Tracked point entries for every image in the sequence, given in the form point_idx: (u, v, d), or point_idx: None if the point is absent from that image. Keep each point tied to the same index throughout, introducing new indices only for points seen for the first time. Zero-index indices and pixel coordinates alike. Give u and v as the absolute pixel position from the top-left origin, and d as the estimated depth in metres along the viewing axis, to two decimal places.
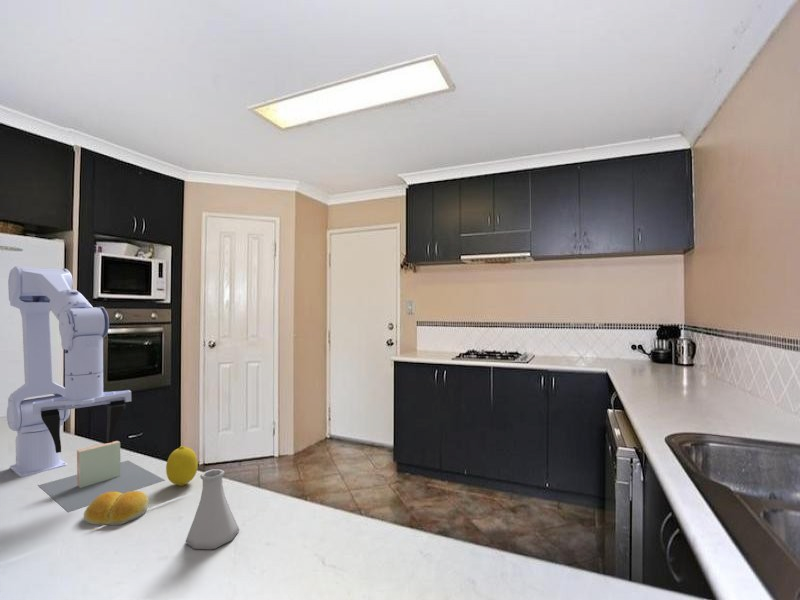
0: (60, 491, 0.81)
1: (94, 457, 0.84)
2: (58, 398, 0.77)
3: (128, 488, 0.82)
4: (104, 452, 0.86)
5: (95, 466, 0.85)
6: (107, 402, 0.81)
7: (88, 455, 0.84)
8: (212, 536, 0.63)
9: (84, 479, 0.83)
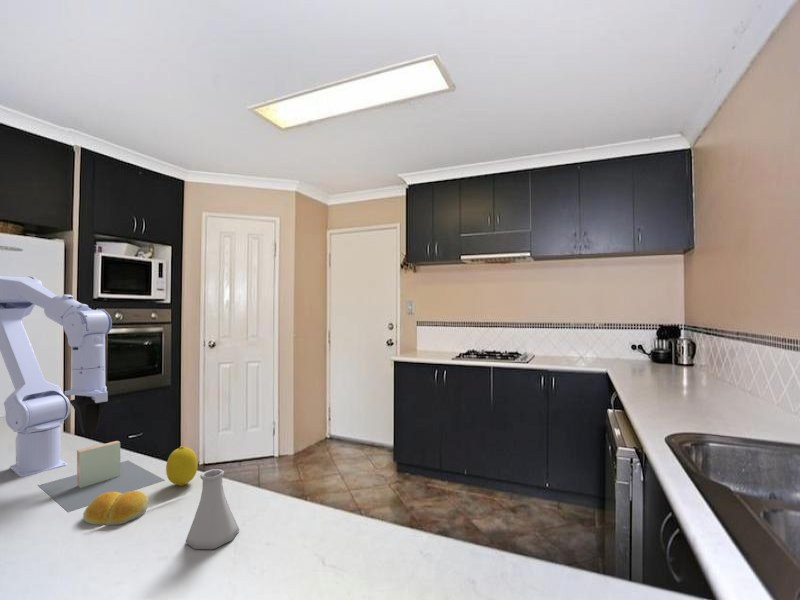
0: (60, 491, 0.81)
1: (94, 457, 0.84)
2: None
3: (128, 488, 0.82)
4: (104, 452, 0.86)
5: (95, 466, 0.85)
6: (93, 398, 0.87)
7: (88, 455, 0.84)
8: (212, 536, 0.63)
9: (84, 479, 0.83)
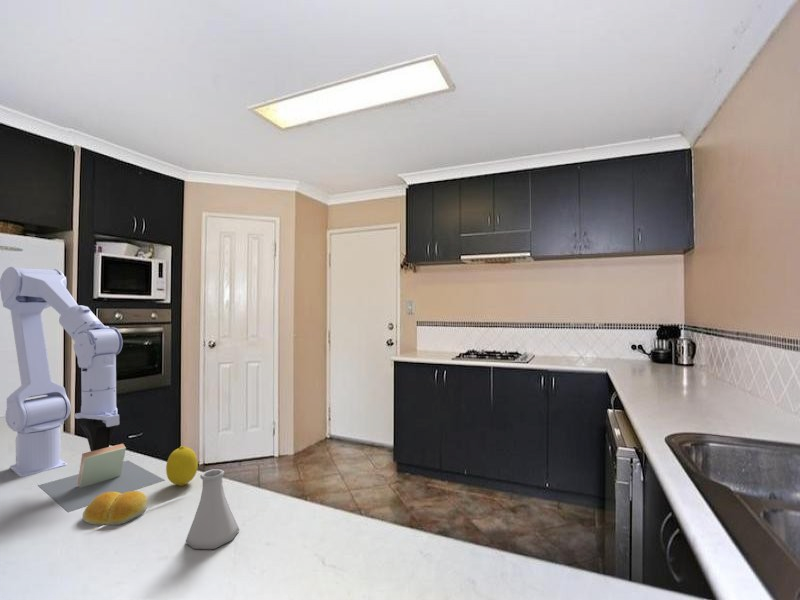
0: (60, 491, 0.81)
1: (98, 462, 0.83)
2: None
3: (128, 488, 0.82)
4: (109, 457, 0.85)
5: (98, 469, 0.84)
6: (104, 421, 0.83)
7: (92, 460, 0.82)
8: (212, 536, 0.63)
9: (85, 480, 0.83)
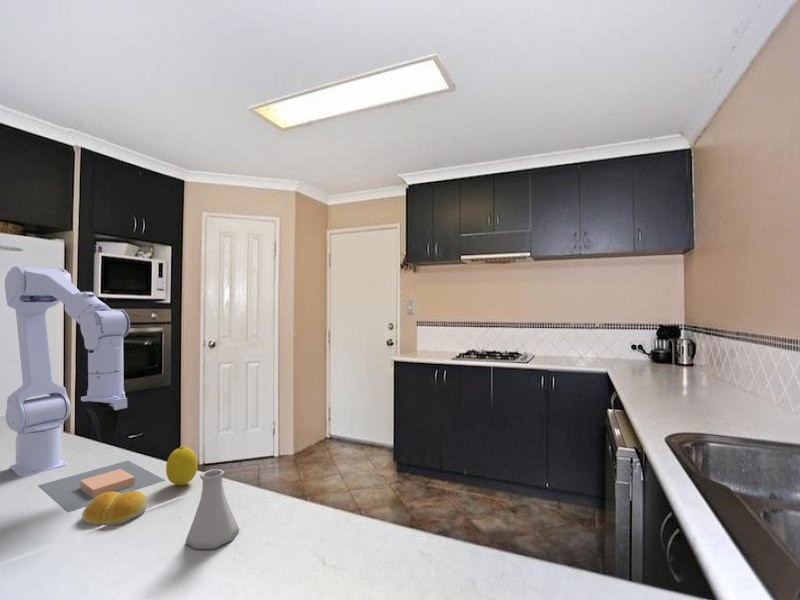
0: (60, 491, 0.81)
1: None
2: None
3: (128, 488, 0.82)
4: None
5: None
6: (111, 404, 0.81)
7: None
8: (212, 536, 0.63)
9: None
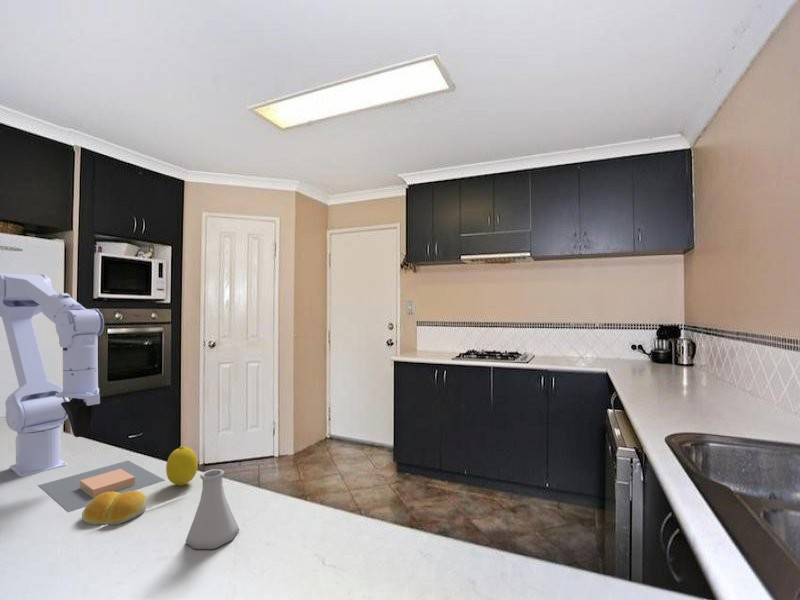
0: (60, 491, 0.81)
1: None
2: None
3: (128, 488, 0.82)
4: None
5: None
6: (85, 400, 0.84)
7: None
8: (212, 536, 0.63)
9: None
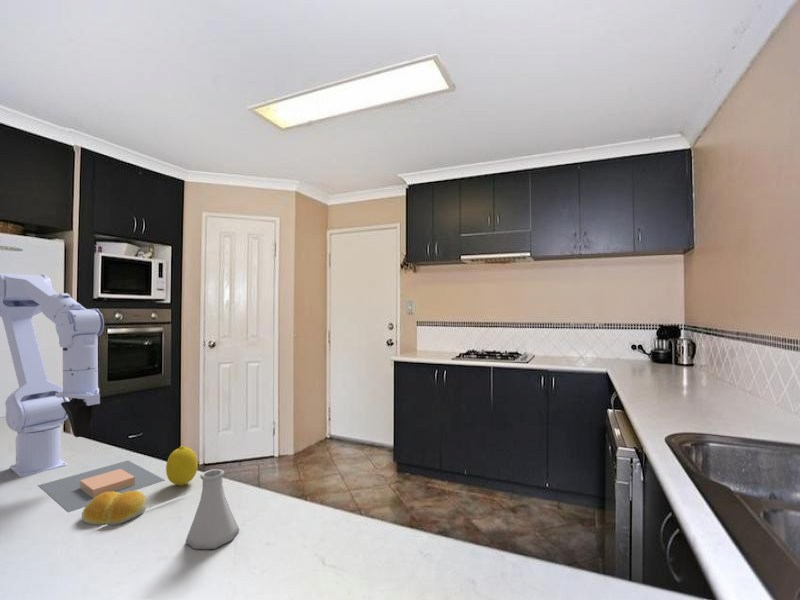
0: (60, 491, 0.81)
1: None
2: None
3: (128, 488, 0.82)
4: None
5: None
6: (85, 400, 0.84)
7: None
8: (212, 536, 0.63)
9: None
